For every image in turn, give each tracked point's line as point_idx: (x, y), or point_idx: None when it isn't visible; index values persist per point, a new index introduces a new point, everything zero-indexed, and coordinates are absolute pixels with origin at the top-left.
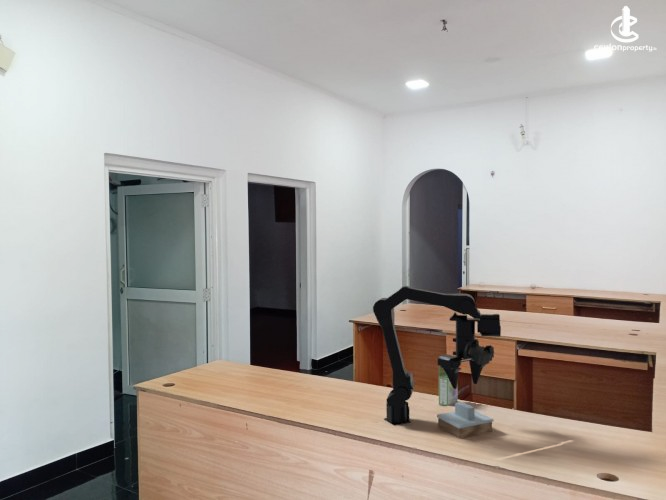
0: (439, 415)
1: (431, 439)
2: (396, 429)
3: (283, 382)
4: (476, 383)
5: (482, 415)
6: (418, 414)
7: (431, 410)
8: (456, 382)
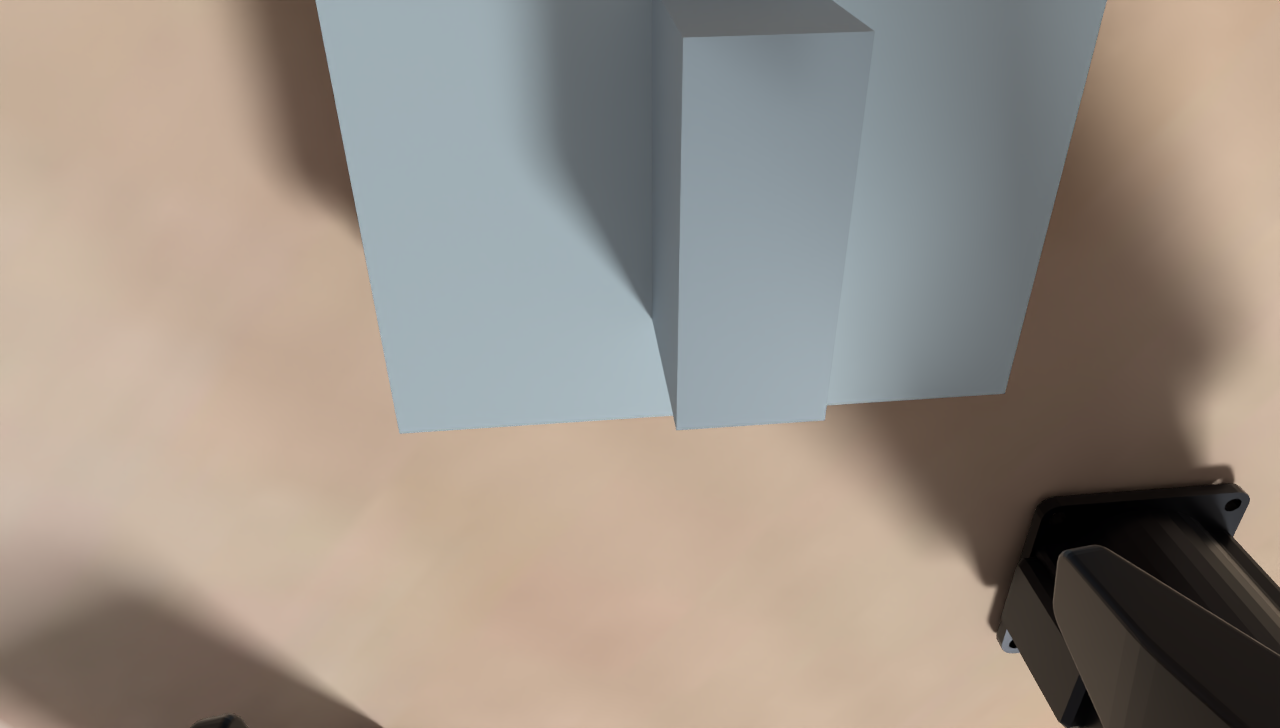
0: (1006, 352)
1: (1266, 27)
2: (1277, 424)
3: None
4: (215, 725)
5: (384, 91)
6: (790, 655)
7: (603, 699)
8: (1252, 680)
